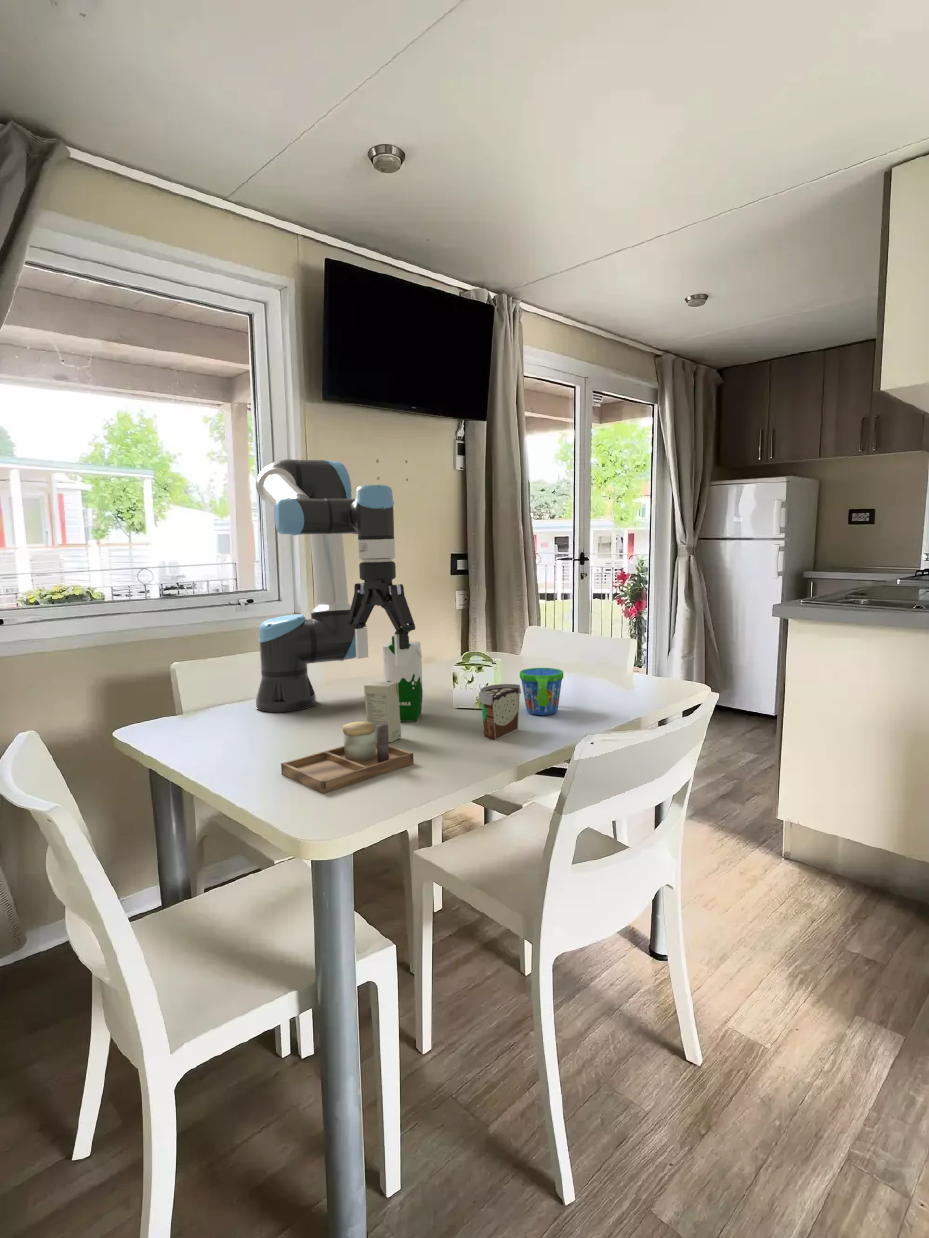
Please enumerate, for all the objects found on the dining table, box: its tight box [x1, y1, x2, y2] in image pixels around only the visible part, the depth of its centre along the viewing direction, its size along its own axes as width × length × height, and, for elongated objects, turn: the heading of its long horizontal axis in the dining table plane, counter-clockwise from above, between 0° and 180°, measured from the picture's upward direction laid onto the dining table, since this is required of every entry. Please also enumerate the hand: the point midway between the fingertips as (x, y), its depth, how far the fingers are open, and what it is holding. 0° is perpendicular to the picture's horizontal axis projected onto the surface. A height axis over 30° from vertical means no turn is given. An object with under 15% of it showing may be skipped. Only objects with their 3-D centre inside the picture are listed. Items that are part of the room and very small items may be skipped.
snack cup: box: [519, 667, 564, 716], centre depth 160 cm, size 16×10×10 cm
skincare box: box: [363, 680, 402, 743], centre depth 141 cm, size 6×4×12 cm
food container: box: [477, 683, 522, 741], centre depth 144 cm, size 12×6×10 cm, turn 145°
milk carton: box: [382, 635, 424, 722], centre depth 157 cm, size 9×9×20 cm
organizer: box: [280, 721, 414, 794], centre depth 123 cm, size 14×20×8 cm
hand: (381, 661), depth 139 cm, fingers open, 13 cm apart
